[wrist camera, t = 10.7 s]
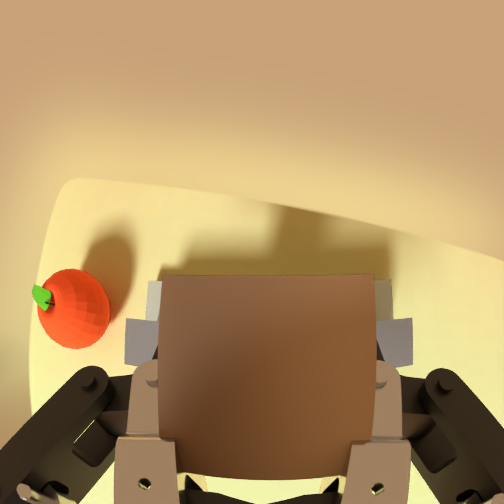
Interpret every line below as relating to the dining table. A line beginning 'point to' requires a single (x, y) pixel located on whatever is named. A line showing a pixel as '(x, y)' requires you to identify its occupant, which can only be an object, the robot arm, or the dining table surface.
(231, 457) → the walnut post
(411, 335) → the ridge stand
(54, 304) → the clementine
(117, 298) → the dining table surface
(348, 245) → the dining table surface
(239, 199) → the dining table surface
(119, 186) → the dining table surface
